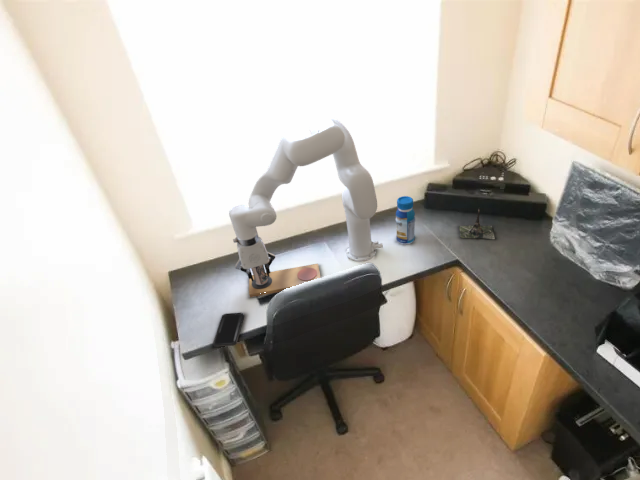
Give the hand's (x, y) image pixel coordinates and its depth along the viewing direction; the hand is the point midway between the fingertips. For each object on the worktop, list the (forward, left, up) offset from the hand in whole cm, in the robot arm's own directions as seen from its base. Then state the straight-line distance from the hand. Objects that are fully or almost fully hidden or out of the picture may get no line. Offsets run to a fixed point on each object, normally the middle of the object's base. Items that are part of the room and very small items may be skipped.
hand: (260, 276), depth 162 cm
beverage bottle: (-63, -14, -5) cm, 65 cm away
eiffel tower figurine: (-95, -10, -5) cm, 96 cm away
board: (-9, 0, -5) cm, 10 cm away
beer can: (0, 0, -3) cm, 3 cm away
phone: (+12, +22, -5) cm, 25 cm away
